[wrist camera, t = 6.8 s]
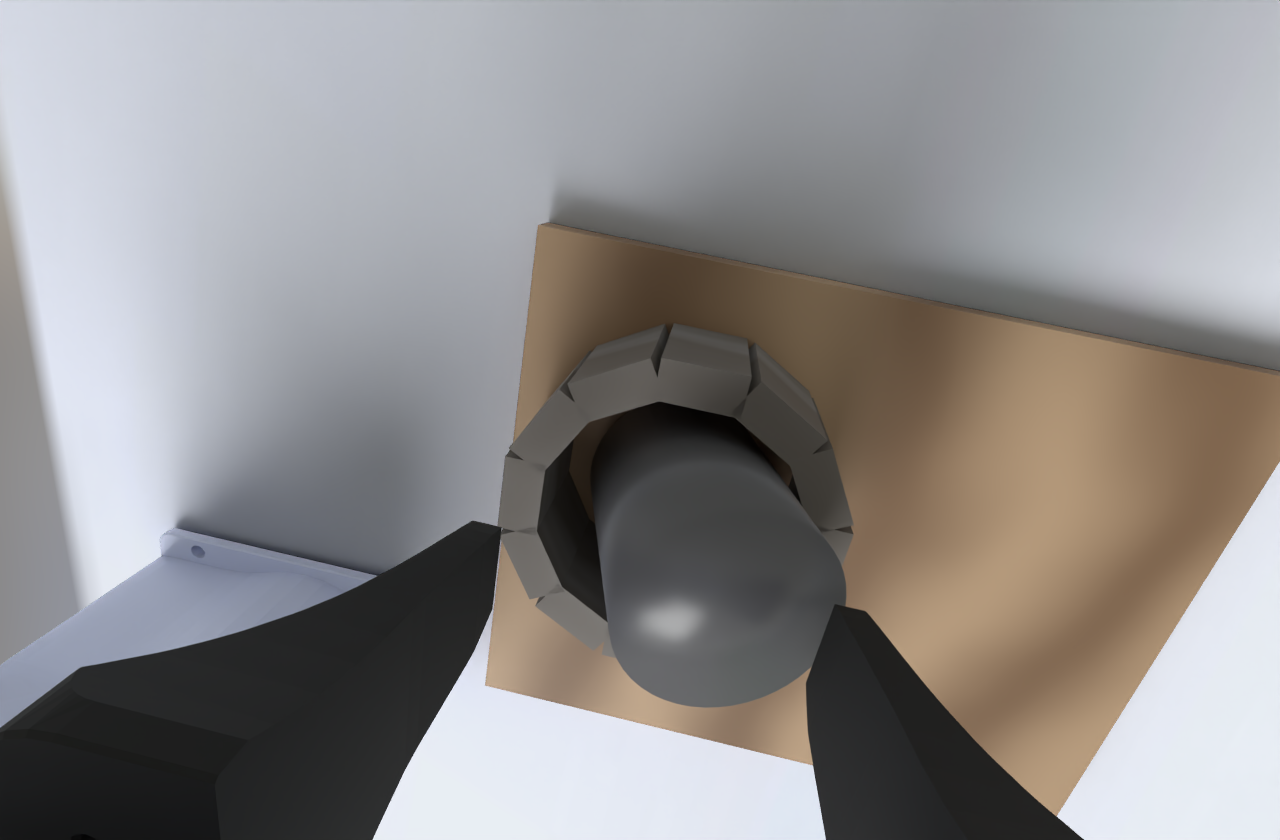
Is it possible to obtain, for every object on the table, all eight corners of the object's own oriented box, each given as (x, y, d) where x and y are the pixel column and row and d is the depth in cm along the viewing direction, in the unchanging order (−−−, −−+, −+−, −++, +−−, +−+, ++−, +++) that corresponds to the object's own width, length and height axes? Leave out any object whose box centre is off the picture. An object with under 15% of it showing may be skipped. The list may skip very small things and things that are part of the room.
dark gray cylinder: (578, 540, 18) (591, 704, 13) (604, 385, 17) (632, 498, 11) (735, 553, 19) (809, 711, 14) (775, 407, 18) (877, 521, 12)
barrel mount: (494, 665, 24) (444, 770, 19) (548, 222, 18) (491, 237, 13) (1038, 796, 22) (1109, 937, 18) (1293, 373, 16) (1485, 441, 12)
